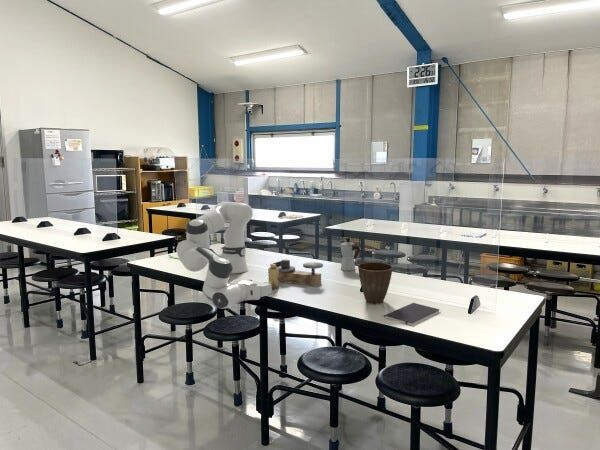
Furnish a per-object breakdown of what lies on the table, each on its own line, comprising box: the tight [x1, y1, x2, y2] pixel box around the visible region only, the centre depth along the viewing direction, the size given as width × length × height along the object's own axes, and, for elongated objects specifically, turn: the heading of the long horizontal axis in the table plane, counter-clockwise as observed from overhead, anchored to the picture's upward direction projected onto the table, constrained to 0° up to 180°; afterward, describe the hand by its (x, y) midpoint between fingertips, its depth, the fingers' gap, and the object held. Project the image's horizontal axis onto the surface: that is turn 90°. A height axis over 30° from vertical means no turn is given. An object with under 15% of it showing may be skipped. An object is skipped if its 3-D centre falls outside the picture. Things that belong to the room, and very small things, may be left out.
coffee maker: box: [339, 237, 361, 272], centre depth 256 cm, size 15×9×18 cm, turn 42°
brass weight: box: [267, 263, 280, 291], centre depth 223 cm, size 5×5×12 cm
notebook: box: [383, 302, 440, 326], centre depth 184 cm, size 13×2×21 cm
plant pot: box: [357, 261, 394, 305], centre depth 200 cm, size 15×15×16 cm
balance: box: [276, 259, 324, 287], centre depth 233 cm, size 26×10×10 cm, turn 61°
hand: (259, 282), depth 212 cm, fingers open, 8 cm apart
